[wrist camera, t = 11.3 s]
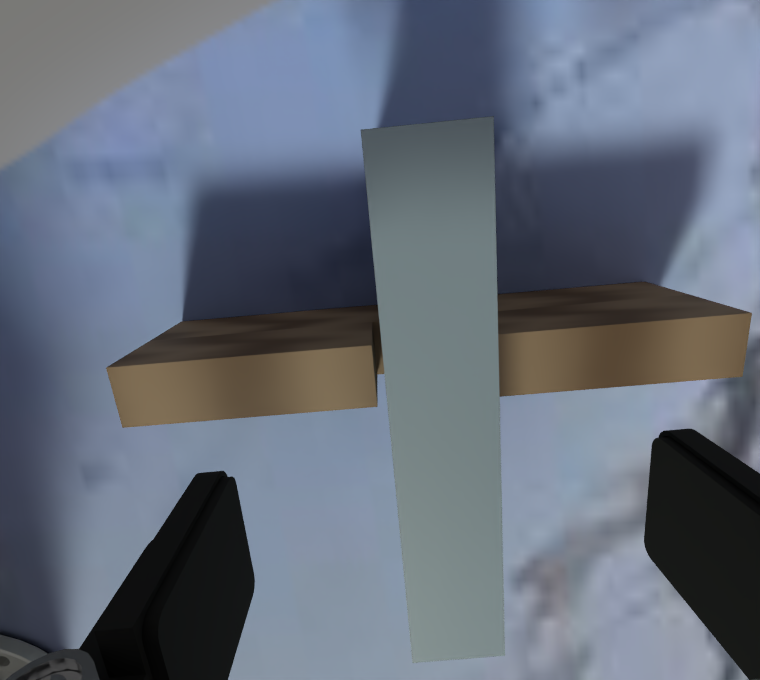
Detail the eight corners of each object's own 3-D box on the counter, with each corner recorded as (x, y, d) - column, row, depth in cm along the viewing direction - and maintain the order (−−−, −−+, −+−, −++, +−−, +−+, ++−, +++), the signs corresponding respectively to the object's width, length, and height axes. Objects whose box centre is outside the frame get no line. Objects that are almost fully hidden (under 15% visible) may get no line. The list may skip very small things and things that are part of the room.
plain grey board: (368, 168, 22) (360, 129, 10) (431, 161, 22) (493, 116, 10) (396, 462, 26) (412, 662, 15) (448, 458, 26) (504, 655, 15)
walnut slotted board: (191, 366, 25) (122, 427, 18) (181, 321, 24) (106, 367, 17) (641, 328, 24) (742, 376, 18) (644, 281, 24) (751, 313, 17)
